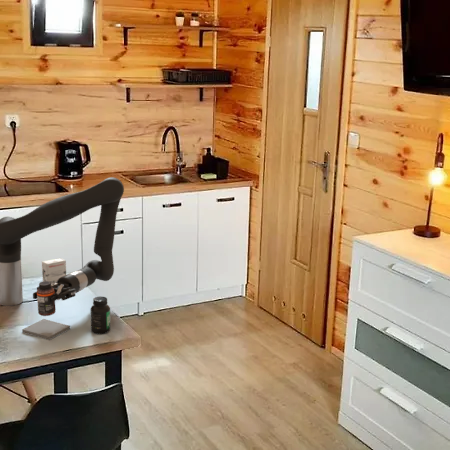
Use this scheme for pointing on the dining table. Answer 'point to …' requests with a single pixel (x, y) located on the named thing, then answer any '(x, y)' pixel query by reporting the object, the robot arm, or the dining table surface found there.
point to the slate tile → (46, 329)
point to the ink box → (53, 270)
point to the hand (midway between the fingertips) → (41, 298)
